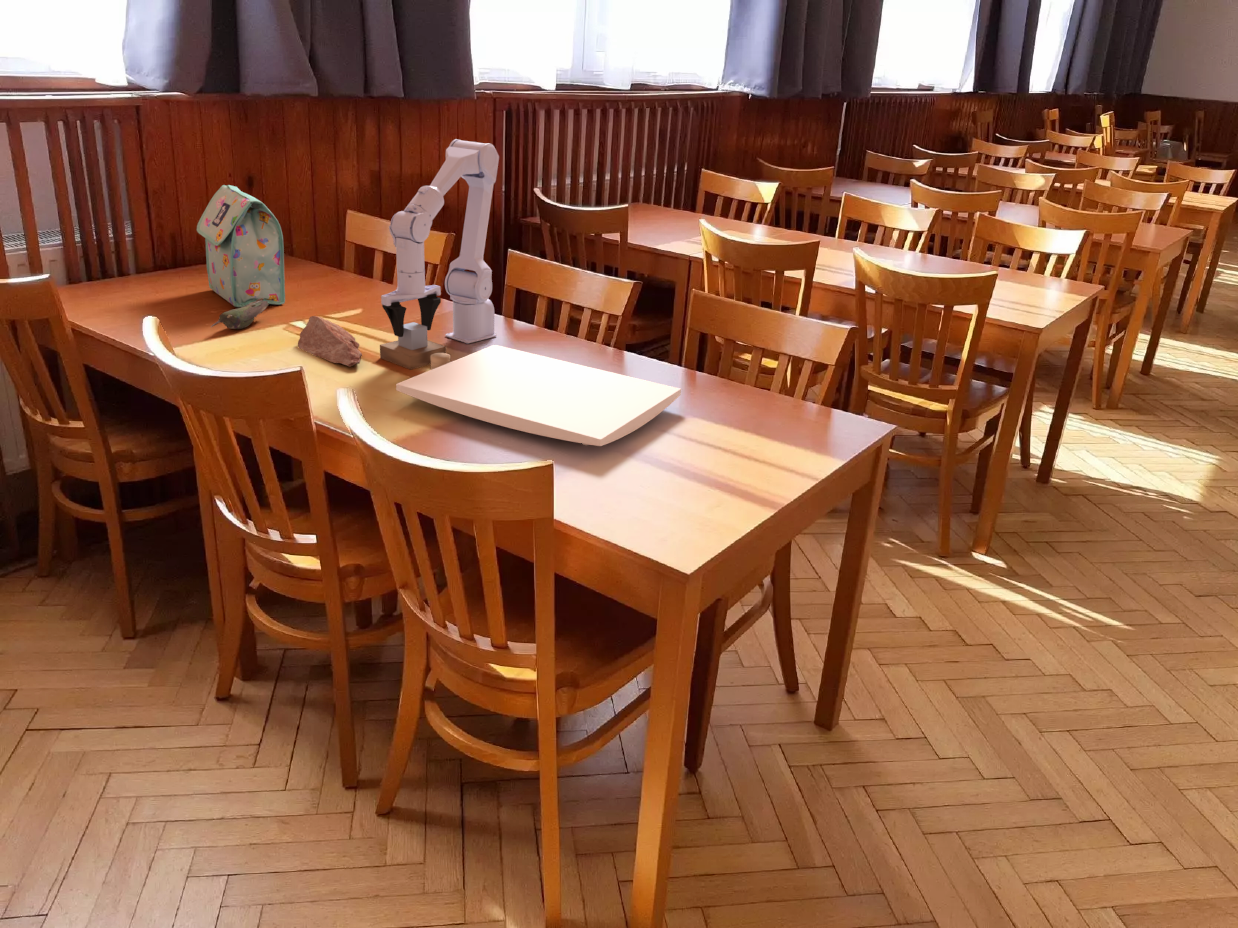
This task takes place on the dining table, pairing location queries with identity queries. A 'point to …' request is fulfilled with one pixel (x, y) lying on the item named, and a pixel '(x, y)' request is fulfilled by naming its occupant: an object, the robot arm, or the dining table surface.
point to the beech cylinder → (439, 359)
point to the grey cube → (413, 336)
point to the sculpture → (242, 315)
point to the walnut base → (410, 354)
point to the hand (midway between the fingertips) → (412, 332)
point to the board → (542, 395)
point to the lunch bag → (243, 248)
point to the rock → (329, 342)
